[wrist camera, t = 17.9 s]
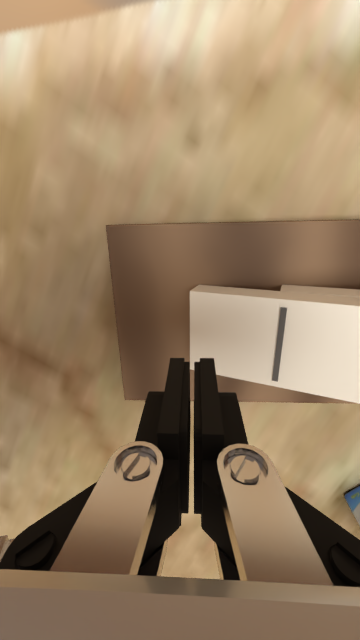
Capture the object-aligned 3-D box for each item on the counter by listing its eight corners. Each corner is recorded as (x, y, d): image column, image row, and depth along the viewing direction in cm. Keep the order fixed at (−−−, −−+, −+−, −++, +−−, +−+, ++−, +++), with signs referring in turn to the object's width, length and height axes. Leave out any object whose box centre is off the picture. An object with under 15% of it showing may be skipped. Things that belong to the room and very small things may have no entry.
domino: (189, 370, 17) (382, 409, 13) (189, 291, 15) (411, 311, 12) (198, 357, 19) (374, 389, 15) (199, 284, 17) (398, 300, 13)
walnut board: (128, 390, 21) (124, 399, 20) (111, 224, 17) (105, 225, 16) (517, 395, 20) (537, 406, 18) (605, 214, 15) (638, 214, 14)
